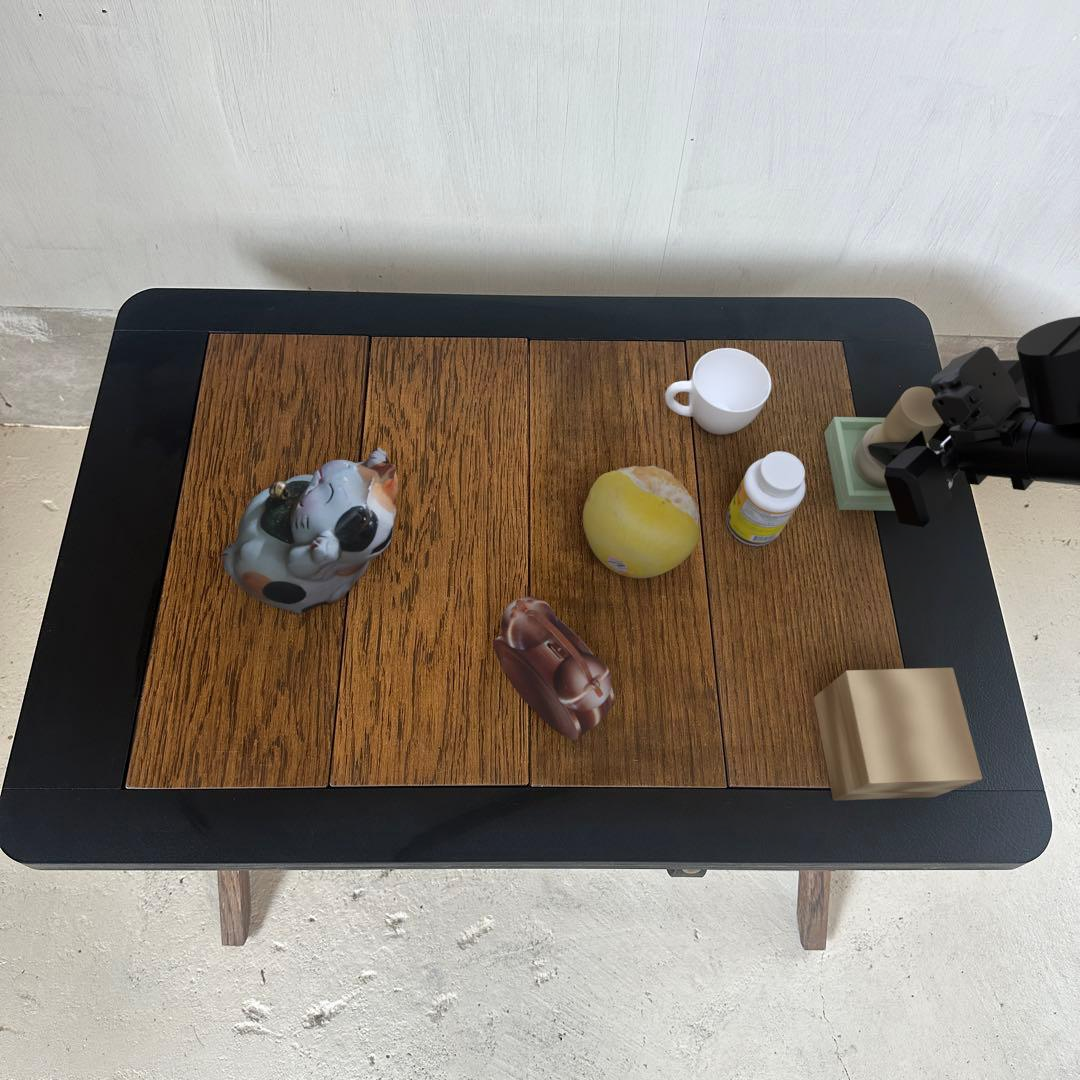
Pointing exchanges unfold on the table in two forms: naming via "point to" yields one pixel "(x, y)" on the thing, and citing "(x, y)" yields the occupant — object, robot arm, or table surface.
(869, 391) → the table surface
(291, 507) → the lucky cat figurine
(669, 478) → the fruit
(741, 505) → the supplement bottle
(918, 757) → the stand
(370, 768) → the table surface
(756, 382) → the cup
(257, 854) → the table surface
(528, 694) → the alarm clock
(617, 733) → the table surface
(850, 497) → the mint green tray
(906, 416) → the tan cylindrical piece
